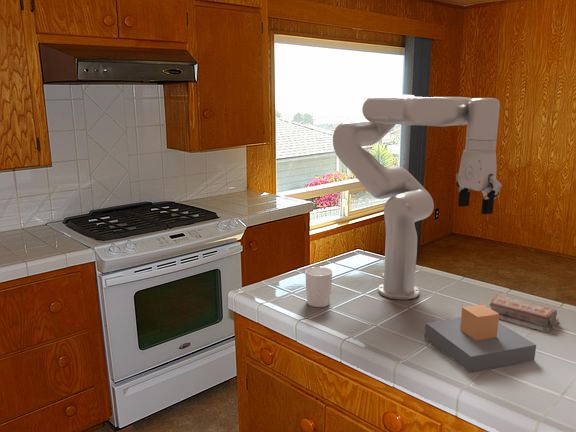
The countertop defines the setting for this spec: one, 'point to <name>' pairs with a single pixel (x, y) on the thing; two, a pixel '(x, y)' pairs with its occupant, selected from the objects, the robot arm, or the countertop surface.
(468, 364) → the plinth
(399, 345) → the countertop surface
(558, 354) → the countertop surface
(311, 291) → the white cup
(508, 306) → the packaged product
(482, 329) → the cube
